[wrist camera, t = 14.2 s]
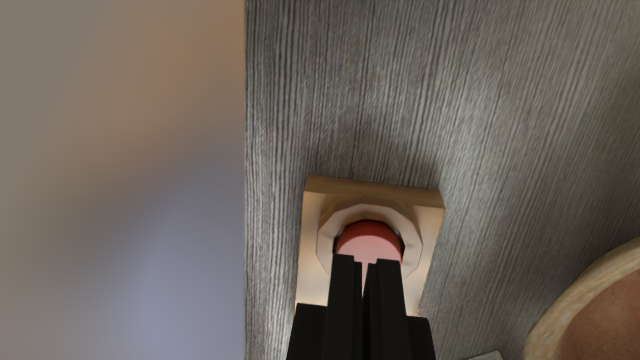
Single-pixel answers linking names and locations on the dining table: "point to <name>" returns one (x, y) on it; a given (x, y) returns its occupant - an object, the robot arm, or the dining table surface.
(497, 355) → the cosmetic box
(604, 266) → the bowl
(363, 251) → the button
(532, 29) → the dining table surface
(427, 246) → the block
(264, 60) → the dining table surface
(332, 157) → the dining table surface
